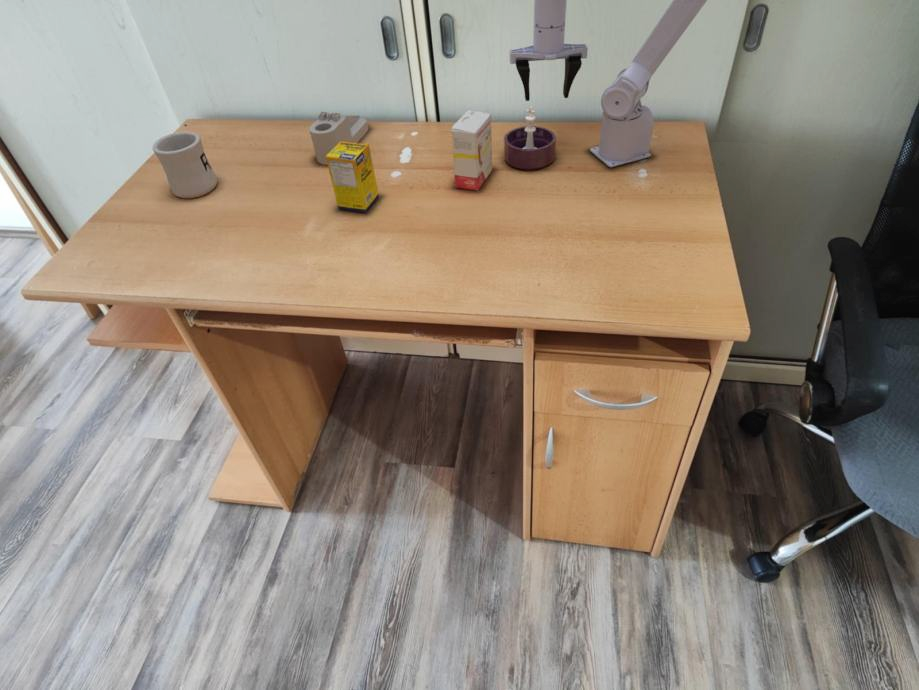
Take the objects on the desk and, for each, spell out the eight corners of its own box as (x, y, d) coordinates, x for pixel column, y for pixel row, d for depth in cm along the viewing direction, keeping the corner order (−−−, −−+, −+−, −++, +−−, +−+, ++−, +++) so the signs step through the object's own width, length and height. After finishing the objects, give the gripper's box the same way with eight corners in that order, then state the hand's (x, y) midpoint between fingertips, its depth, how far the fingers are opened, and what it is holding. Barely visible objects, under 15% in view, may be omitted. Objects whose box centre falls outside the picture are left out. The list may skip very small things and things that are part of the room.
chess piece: (535, 164, 116) (536, 114, 109) (513, 158, 118) (513, 110, 111) (545, 153, 119) (548, 104, 112) (524, 148, 121) (525, 100, 114)
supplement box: (379, 196, 112) (369, 143, 104) (366, 213, 108) (355, 159, 101) (351, 193, 114) (340, 140, 106) (337, 209, 110) (324, 156, 102)
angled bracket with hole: (371, 126, 134) (364, 91, 128) (336, 165, 122) (328, 129, 116) (348, 125, 135) (341, 90, 129) (312, 163, 123) (302, 126, 118)
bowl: (540, 142, 123) (541, 121, 120) (563, 163, 117) (565, 142, 113) (496, 153, 121) (495, 133, 118) (517, 176, 114) (517, 154, 111)
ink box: (477, 191, 111) (475, 132, 103) (454, 187, 113) (449, 129, 104) (493, 169, 117) (492, 111, 108) (470, 166, 118) (467, 108, 110)
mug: (221, 192, 117) (202, 145, 110) (174, 204, 115) (152, 157, 108) (214, 165, 125) (196, 120, 118) (170, 176, 123) (149, 131, 116)
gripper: (511, 33, 104) (511, 108, 114) (593, 27, 104) (586, 103, 114) (508, 20, 109) (508, 93, 119) (586, 14, 109) (580, 88, 119)
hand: (546, 97), depth 117 cm, fingers open, 7 cm apart
